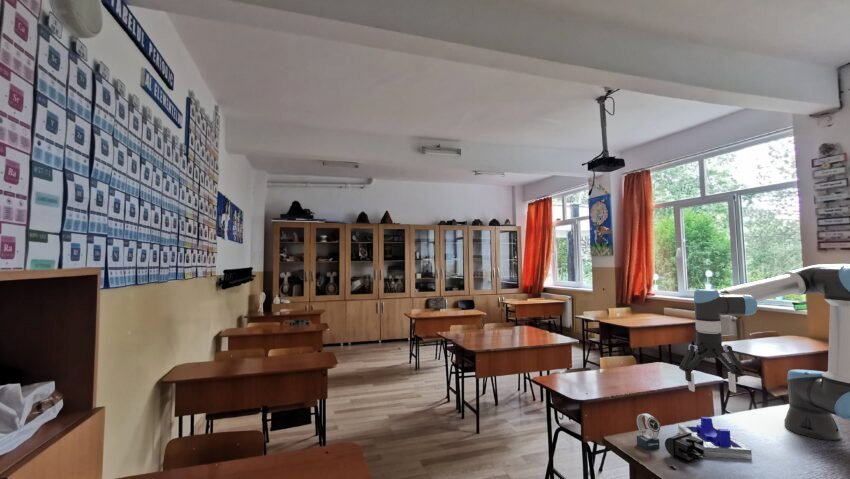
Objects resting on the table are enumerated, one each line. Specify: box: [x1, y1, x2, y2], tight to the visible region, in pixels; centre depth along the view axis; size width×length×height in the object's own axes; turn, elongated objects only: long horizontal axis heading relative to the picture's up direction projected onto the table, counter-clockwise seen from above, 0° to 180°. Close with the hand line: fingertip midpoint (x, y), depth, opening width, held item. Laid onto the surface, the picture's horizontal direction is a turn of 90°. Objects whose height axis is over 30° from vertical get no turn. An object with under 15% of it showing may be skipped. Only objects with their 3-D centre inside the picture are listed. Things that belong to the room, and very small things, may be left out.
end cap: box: [664, 432, 705, 465], centre depth 129 cm, size 10×7×7 cm
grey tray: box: [677, 424, 753, 460], centre depth 137 cm, size 14×18×3 cm
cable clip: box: [696, 416, 731, 447], centre depth 137 cm, size 12×4×6 cm, turn 172°
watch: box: [636, 412, 661, 451], centre depth 137 cm, size 6×8×11 cm
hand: (712, 391), depth 139 cm, fingers open, 13 cm apart
